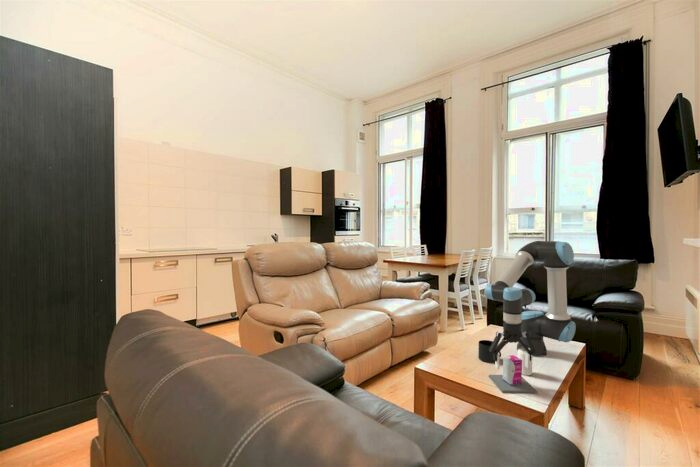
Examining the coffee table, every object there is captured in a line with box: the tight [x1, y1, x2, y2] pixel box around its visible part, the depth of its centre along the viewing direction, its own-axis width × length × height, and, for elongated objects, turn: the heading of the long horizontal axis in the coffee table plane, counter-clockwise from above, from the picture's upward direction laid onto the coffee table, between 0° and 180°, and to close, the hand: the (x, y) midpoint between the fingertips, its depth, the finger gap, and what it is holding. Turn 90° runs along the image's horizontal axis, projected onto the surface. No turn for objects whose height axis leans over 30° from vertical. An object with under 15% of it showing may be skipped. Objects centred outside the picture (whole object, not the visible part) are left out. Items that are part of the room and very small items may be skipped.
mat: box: [488, 374, 538, 394], centre depth 149 cm, size 15×15×1 cm
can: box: [517, 347, 533, 377], centre depth 161 cm, size 6×6×12 cm
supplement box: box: [502, 354, 523, 385], centre depth 149 cm, size 6×6×12 cm
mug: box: [477, 339, 502, 364], centre depth 176 cm, size 9×12×9 cm
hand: (512, 367), depth 149 cm, fingers open, 13 cm apart
